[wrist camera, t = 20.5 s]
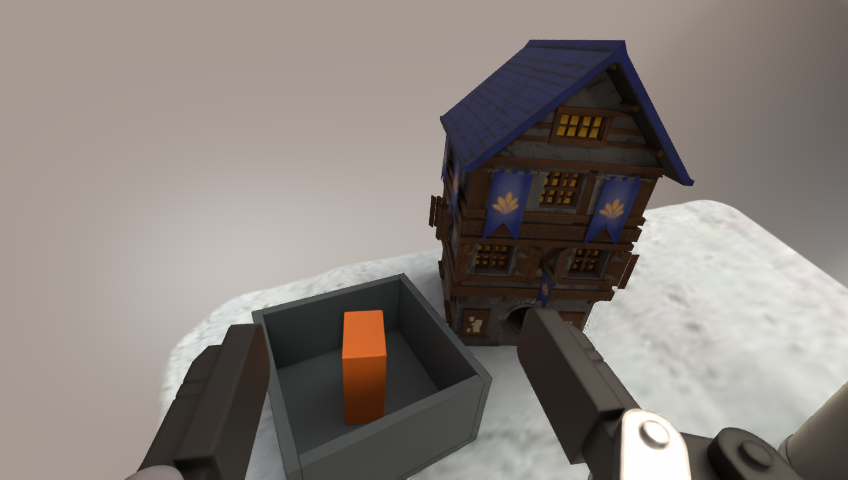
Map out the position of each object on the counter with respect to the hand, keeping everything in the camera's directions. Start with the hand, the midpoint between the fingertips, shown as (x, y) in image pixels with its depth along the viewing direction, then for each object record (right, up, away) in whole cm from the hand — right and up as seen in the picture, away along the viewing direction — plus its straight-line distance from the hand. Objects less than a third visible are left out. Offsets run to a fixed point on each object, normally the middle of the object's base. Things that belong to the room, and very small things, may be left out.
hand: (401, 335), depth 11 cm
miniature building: (+10, -6, +34) cm, 36 cm away
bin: (-5, -12, +21) cm, 25 cm away
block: (-5, -11, +21) cm, 24 cm away
